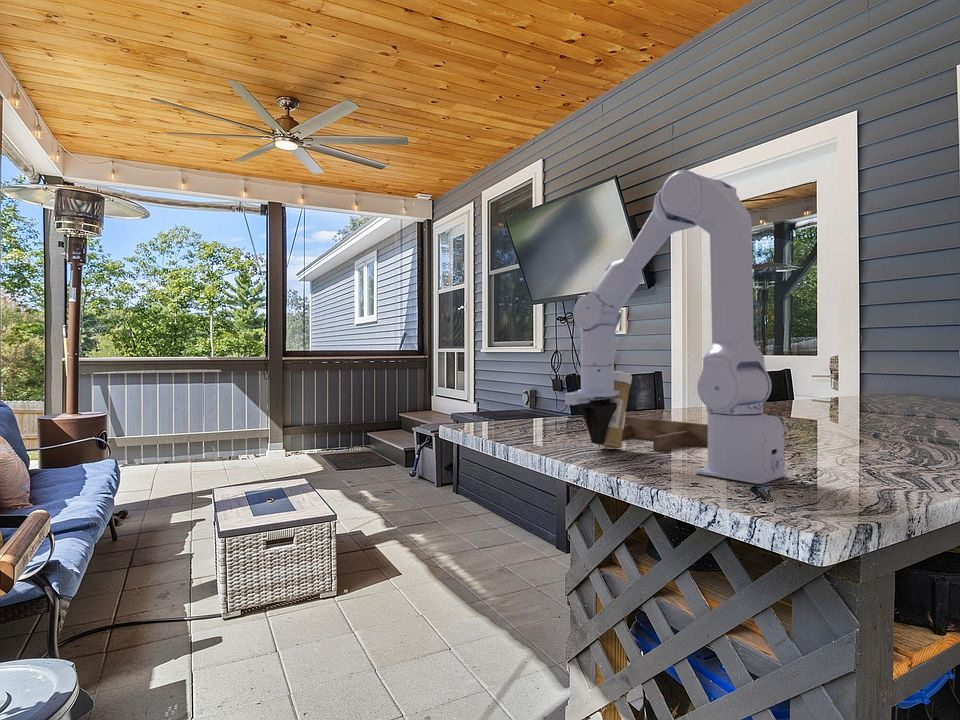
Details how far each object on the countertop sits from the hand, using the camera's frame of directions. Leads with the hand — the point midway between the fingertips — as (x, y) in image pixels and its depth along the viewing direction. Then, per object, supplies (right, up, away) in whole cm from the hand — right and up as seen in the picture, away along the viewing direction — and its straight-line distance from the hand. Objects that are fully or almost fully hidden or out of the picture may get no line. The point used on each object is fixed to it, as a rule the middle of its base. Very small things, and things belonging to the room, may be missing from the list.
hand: (597, 443), depth 103 cm
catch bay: (+10, -1, +8) cm, 13 cm away
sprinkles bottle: (+2, -1, +1) cm, 3 cm away
